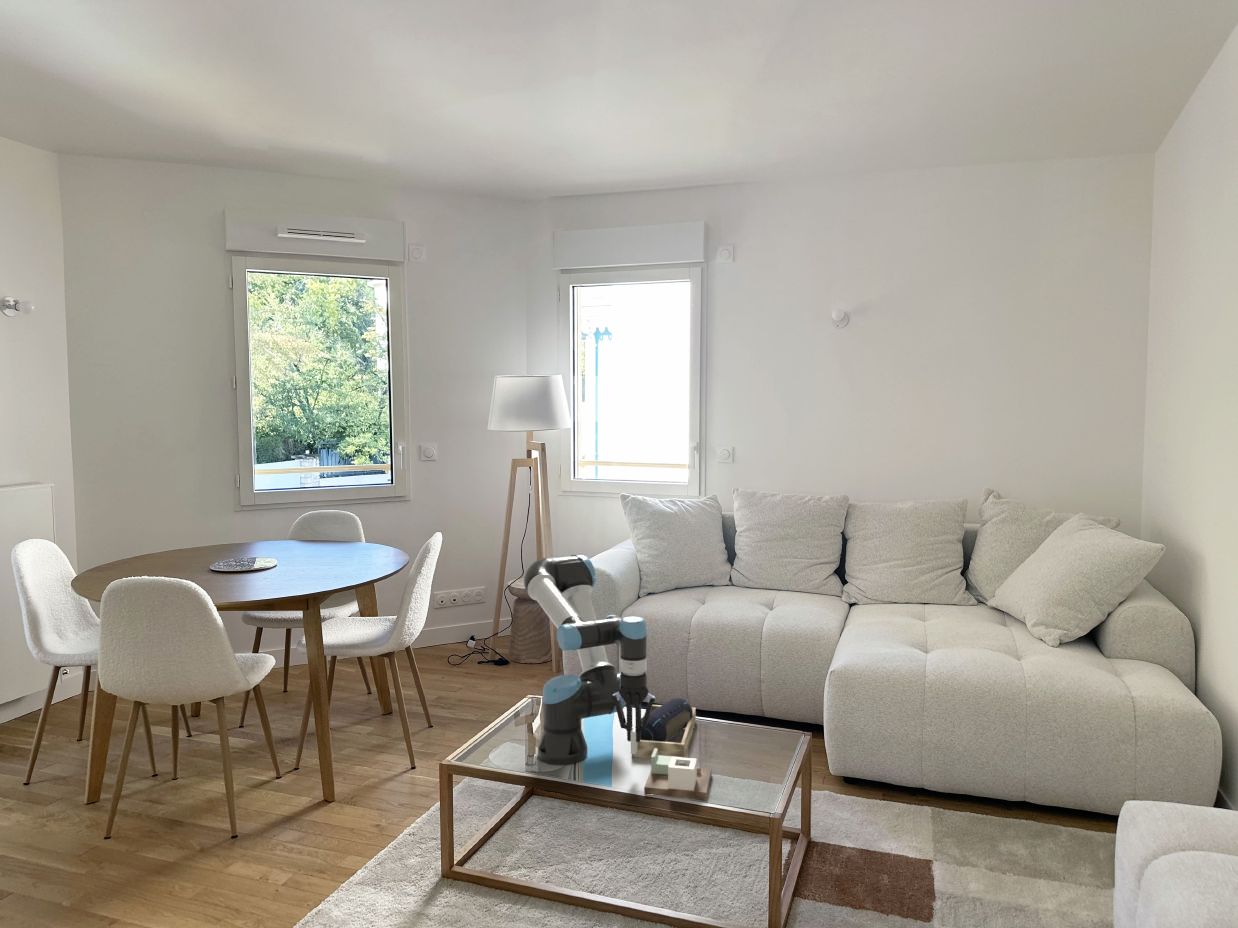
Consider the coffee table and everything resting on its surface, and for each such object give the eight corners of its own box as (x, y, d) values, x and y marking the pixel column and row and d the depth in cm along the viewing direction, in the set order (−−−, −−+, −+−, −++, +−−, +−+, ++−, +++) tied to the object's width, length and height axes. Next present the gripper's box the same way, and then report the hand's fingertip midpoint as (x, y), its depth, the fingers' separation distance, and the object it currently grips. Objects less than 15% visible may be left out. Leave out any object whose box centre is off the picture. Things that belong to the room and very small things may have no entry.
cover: (651, 773, 239) (651, 756, 238) (654, 764, 245) (654, 748, 244) (679, 775, 237) (679, 758, 237) (681, 766, 243) (681, 750, 243)
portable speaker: (658, 754, 256) (658, 722, 255) (631, 747, 261) (630, 716, 260) (697, 727, 276) (697, 697, 276) (671, 721, 282) (671, 692, 281)
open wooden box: (631, 756, 255) (631, 740, 255) (648, 718, 286) (648, 704, 285) (684, 760, 252) (684, 744, 252) (695, 721, 282) (695, 707, 282)
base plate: (644, 794, 231) (644, 765, 230) (653, 770, 245) (653, 743, 245) (706, 799, 227) (706, 770, 227) (711, 775, 242) (711, 748, 241)
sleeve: (672, 777, 237) (671, 756, 236) (696, 779, 235) (696, 758, 235) (668, 788, 230) (668, 766, 229) (693, 790, 228) (693, 769, 228)
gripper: (608, 674, 238) (609, 755, 240) (653, 677, 236) (654, 759, 237) (614, 666, 246) (614, 745, 247) (658, 668, 243) (658, 748, 245)
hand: (634, 751), depth 242 cm, fingers closed
